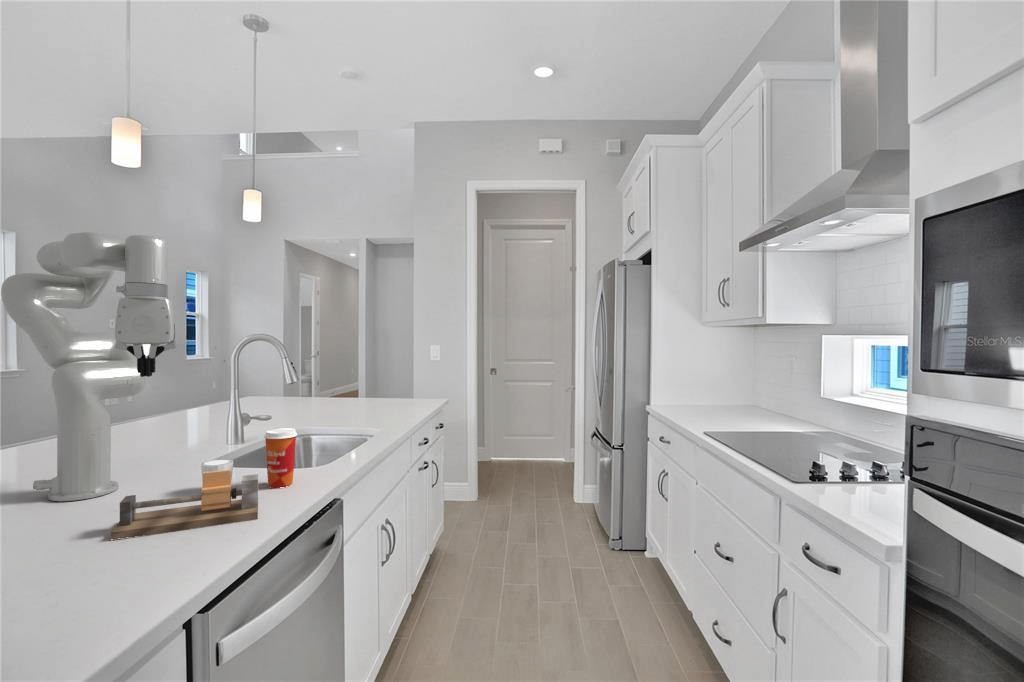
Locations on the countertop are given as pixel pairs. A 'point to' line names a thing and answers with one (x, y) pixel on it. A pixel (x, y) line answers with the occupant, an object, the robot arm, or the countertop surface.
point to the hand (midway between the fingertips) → (146, 376)
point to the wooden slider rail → (185, 512)
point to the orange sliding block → (216, 490)
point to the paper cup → (280, 456)
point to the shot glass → (217, 466)
